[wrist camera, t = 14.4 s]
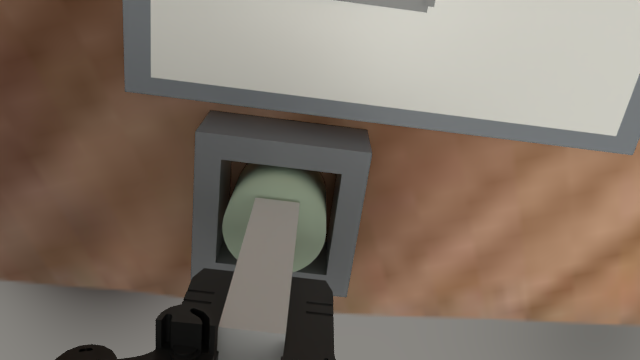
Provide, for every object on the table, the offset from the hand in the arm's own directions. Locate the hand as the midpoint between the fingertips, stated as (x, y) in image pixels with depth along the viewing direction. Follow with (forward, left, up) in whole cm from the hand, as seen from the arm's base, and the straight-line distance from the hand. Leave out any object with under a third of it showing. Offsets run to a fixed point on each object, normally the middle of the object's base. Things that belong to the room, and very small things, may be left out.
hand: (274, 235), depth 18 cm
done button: (0, 0, -3) cm, 3 cm away
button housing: (0, 0, -4) cm, 4 cm away
